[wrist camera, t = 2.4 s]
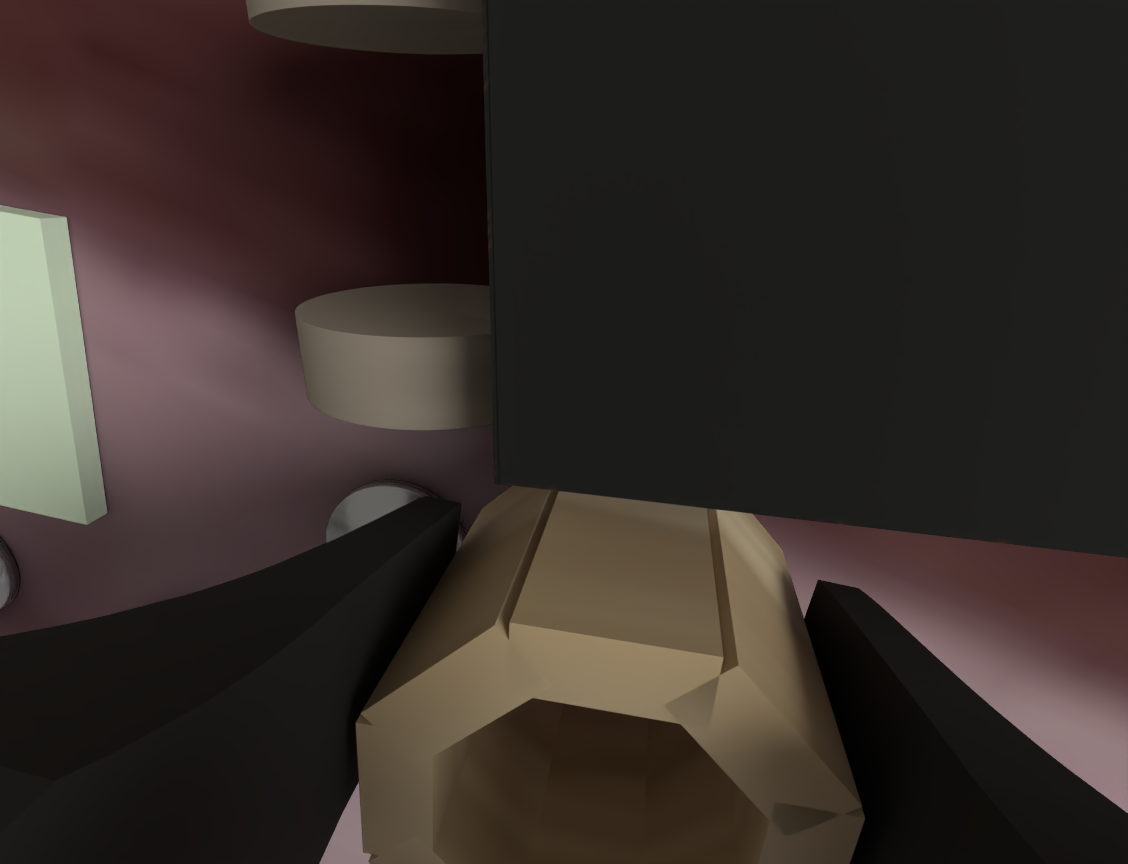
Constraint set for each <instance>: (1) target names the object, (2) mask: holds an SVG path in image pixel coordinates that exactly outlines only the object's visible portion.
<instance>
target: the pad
mask: <svg viewBox="0 0 1128 864" xmlns="http://www.w3.org/2000/svg"><path fill="white" fill-rule="evenodd" d="M0 505H2V506H6V507H10V508H15V509H19V510H23V511H28V512H32V513H37V514H41V515H45V516H50V517H54V518H59V519H63V520H67V521H72V522H76V523H80V524H85V525H88V524H90V523H91V522H93V521H95V520H96V519H98V518H100V517H102V516H103V515H105V514H107V506H106V499H105V492H104V484H103V477H102V470H101V463H100V456H99V448H98V441H97V434H96V427H95V419H94V412H93V405H92V398H91V390H90V383H89V376H88V369H87V362H86V354H85V347H84V340H83V333H82V325H81V318H80V311H79V304H78V296H77V289H76V282H75V275H74V268H73V260H72V253H71V246H70V239H69V231H68V224H67V217H62V216H57V215H51V214H46V213H41V212H35V211H30V210H24V209H19V208H13V207H8V206H2V205H0Z"/></svg>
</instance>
